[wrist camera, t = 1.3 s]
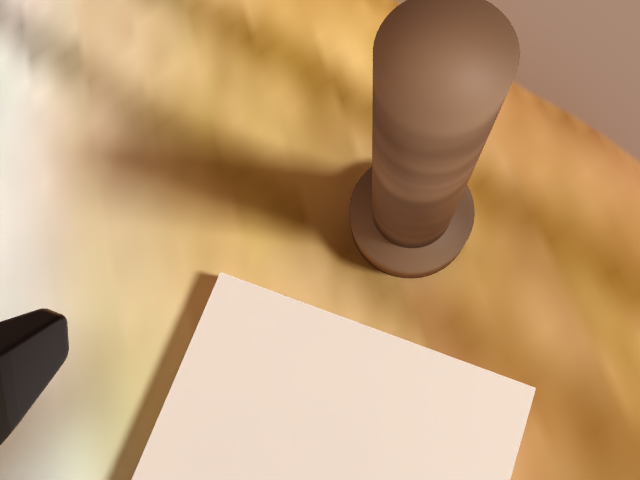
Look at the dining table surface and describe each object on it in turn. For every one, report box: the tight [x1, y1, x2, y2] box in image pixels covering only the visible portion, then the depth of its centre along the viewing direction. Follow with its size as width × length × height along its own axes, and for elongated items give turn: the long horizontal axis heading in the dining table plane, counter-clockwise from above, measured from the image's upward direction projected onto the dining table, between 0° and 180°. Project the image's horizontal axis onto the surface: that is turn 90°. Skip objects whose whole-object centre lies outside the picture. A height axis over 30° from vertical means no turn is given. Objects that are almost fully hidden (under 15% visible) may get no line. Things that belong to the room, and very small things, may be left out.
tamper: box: [350, 0, 520, 278], centre depth 19 cm, size 5×5×12 cm
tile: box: [132, 272, 536, 480], centre depth 22 cm, size 11×13×1 cm
